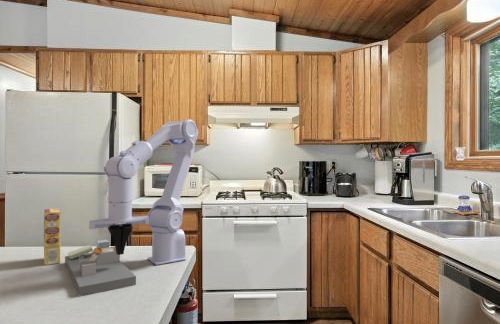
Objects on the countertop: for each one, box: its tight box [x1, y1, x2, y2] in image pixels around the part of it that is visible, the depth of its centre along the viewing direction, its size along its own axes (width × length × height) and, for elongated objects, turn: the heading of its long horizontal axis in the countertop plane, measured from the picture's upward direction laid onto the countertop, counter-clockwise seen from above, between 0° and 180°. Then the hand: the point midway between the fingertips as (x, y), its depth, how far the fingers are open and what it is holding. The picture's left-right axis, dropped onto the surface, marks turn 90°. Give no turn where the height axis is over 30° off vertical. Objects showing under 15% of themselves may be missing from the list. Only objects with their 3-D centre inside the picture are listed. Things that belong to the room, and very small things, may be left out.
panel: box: [64, 246, 137, 297], centre depth 85 cm, size 12×30×5 cm, turn 35°
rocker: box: [67, 244, 94, 259], centre depth 93 cm, size 6×4×1 cm
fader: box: [96, 239, 110, 248], centre depth 96 cm, size 3×4×4 cm
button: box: [101, 248, 114, 253], centre depth 89 cm, size 4×4×3 cm
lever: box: [87, 246, 102, 264], centre depth 80 cm, size 2×3×6 cm
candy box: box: [43, 208, 62, 266], centre depth 96 cm, size 9×4×15 cm, turn 33°
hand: (119, 253), depth 84 cm, fingers closed
